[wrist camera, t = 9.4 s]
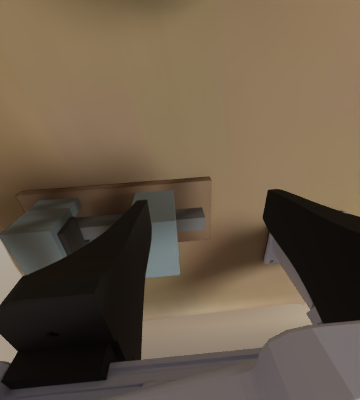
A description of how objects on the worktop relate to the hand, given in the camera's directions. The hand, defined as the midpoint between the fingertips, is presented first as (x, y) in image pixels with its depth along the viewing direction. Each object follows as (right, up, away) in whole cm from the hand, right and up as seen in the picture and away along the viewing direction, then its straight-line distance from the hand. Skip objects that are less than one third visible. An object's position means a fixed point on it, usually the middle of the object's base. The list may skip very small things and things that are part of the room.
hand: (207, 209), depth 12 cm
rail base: (-8, -1, +11) cm, 14 cm away
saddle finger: (-4, -1, +10) cm, 11 cm away
